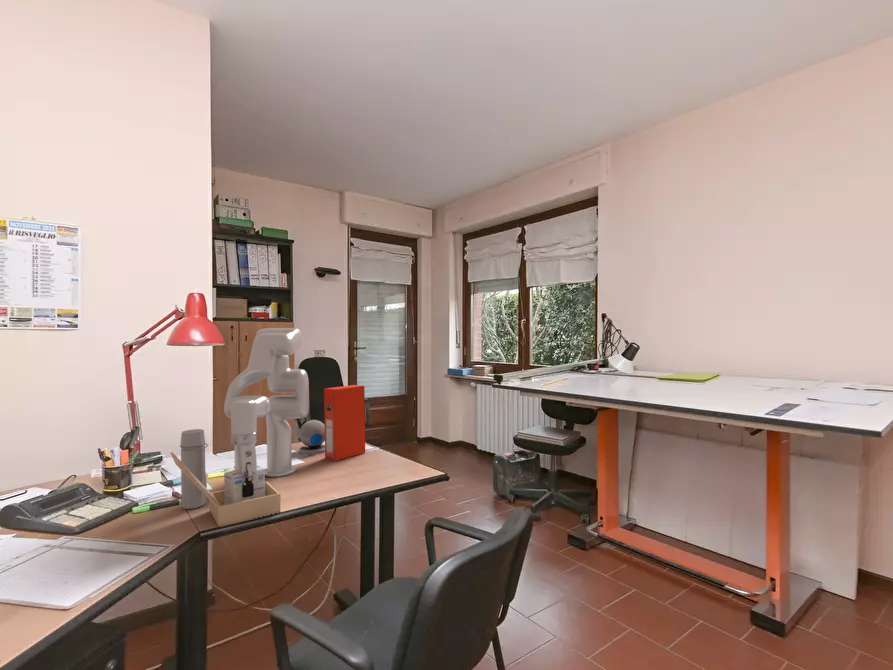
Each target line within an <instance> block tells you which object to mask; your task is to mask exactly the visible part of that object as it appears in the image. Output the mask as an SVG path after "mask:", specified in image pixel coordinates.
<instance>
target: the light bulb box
mask: <svg viewBox="0 0 893 670" xmlns="http://www.w3.org/2000/svg"><path fill="white" fill-rule="evenodd" d="M265 469H266V468H265V467H262V466H259V465H257V473H256V474H255V473H253V483H254V495H253V496H250V497H245V498H243V496H242V485H244V484H243V477H242V476H241V474H240V473H239V472H238V471H237V470H235V469H234V470H230V471H226V472H224V473H223V476H224V477H223V479H224V481H223V482H224V483H223V485H224V487H223V488H224V490H225V505H227V504H232V503H237V502H241V501H246V500H251V499H255V498H260V497H265V482H266V479H265V477H266V476H265ZM252 472H253V471H252ZM245 474H247V473H244V475H245ZM246 478H247V477H245V480H246Z"/></svg>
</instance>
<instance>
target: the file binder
mask: <svg viewBox="0 0 893 670" xmlns="http://www.w3.org/2000/svg"><path fill="white" fill-rule="evenodd" d="M365 393H366V392H365V385H360V384H359V385H358V384H350V385H344V386H343V385H342V386H335V387H327V388H325V387H324V388H323V399H324V400H323V404H324V406H323V408H324V410H323V412H324V425H325V441H324V445H325V452H324V458H325V459H326V460H329V461H334V462H335V461H336V462H337V461H339V460H343V459H347V458H350V457H355V456H357V455H361V454H365V453H366V415H365V414H366V410H365V409H366V404H365V402H366V400H365Z"/></svg>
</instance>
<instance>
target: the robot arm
mask: <svg viewBox="0 0 893 670" xmlns="http://www.w3.org/2000/svg"><path fill="white" fill-rule="evenodd" d="M255 334H256V335H255V337H254V339H253V343H252V347H251V350H250V351H251V352H250V356H249V360H248V364H247V367H246V368H245V369H244V370H243V371H242V372H241V373H239V374H238V375H237V376H236V377H235V378H234V379H233V380H232V381H231V383H230V384H229V386H228V389H227V392H226V396H225V399H224V403H223V405H224V406H223V411H224V415H225V416H226V417H227V418H229V419H230V424H231V425H230V428H231V431H230V433H231V434H230V436H231V437H230V439H231V442H230V443H231V445H232V446H234V470H237V471H238V472H239V473H240V474H241V476H242V477H243V484H244V485H242V496H243V498H245V497H250V496H253V495H254V483H253V473H255V474H256V473H257V466H258V464H257V462H258V461H257V451H256V450H257V449H256V443H257V442H258V426H257V425H258V424H257V423H258V422H257V421H258V420H257V419H263V418H265V423H266V462H267V463H266V468H265V475H266V476H265V477H271V478H275V477H277V478H278V477H284V476H289V475H292V474H293V473H295V472H296V470H297V467H296V466H295V465H292V464H293V463H292V462H293V456H292V455H293V454H292V450H293V449H292V448H293V447H292V428H291V425H290V424H289V422H288V420H289V419H294V420H295V419H304V418H307V416H308V415H309V412H310V389H309V386H310V385H309V384H310V383H309V382H310V381H309V377H308V373H307V371H306V370H305V369H302V368H290V357H289V356H292V355H294V354H295V352H297V351H298V350H299V349H300V347H301V346H302V343H303V335H302V334H303V333H302V332H301V330H300V329H299V328H297V327H266V328H261V329H259V330H257V331H256V333H255ZM265 379H267V389H268V390H269V391H270V392H272V393H295V394H293V395H291V394H290V395H288V394H286V395H282V394H281V395H272V396H269V397H267V396H265V395H241V393H242V392H243V390H245V389H246V388H248V387H249V386H251V385H253V384H256V383H258V382H260V381H263V380H265ZM252 471H253V472H252ZM244 473H247V474H245V475H244ZM245 477H247V478H246V480H245Z"/></svg>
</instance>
